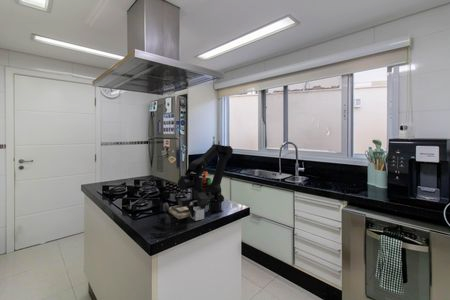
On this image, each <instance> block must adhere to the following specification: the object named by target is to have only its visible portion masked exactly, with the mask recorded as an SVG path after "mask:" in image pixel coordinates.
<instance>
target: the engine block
mask: <svg viewBox="0 0 450 300" xmlns="http://www.w3.org/2000/svg"><path fill="white" fill-rule="evenodd" d="M193 213H194V216H193V217H192V216H191V214H190V217H189V218H191V219H192V220H194V221H201V220H204V219H205V209H203V208H201V207H200V205H199V206H198V205H197V206H194V207H193Z"/></svg>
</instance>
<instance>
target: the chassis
mask: <svg viewBox="0 0 450 300" xmlns="http://www.w3.org/2000/svg"><path fill="white" fill-rule="evenodd" d="M189 199H191V198H190V197H189ZM193 205H194V206H195V202H193ZM162 208H163V212H164V213H166V212H168V213H169V214H171V215H172V216H173V217H175V218H176V219H178V220H182V219H184V218H191V217H190V212H189V209H188V208H187V206H186V207H182V206H180V205H179V204H178V205H173V206H172V205H171V206H170V205H169V203H168V202H164V203H163V204H162Z"/></svg>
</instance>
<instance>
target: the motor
mask: <svg viewBox="0 0 450 300" xmlns="http://www.w3.org/2000/svg"><path fill="white" fill-rule="evenodd" d="M203 174H204V175H205V177H202V188H203V189H204V193H206V191H205V190H206V188H207V185H208V184H209V185H210V184H211V183H212V178H210V177H207V176H208V174H209V172H208V171H204V172H203ZM208 201H209V200H208ZM195 204H198V205H199V206H200V204H199V202H198V201H197V202H195ZM206 206H209V203H208V204H207V205H206Z"/></svg>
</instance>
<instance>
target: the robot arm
mask: <svg viewBox="0 0 450 300" xmlns="http://www.w3.org/2000/svg"><path fill="white" fill-rule="evenodd" d="M233 153H234V149H233V147H232V146H231V145H222V144H217V143H215V144H214V143H213V144H212V145H211V146H210V148H209V149H207V151H205V152H204V153H203V154H202V156H200V157H199V158H197V159H194V160H192V161H191V162H190V163H189V164H188V168H187V169H186V170H185V171H186V172H185V173H184V175H180V178H179V179H178V180H177V186H178V188H179V190H181V191H185V190H190V193H191V194H190V196H189V198H187V197H183V198H179V199H178V200H177V201H178V202H177V204H178V205H180V206H182V207H186V206H187V208H188V209H189V212H190V214H191V216H192V217H193V216H194V213H193V207H195V204H194V205H193V202H194V203H196V202H197V201H198V202H199V204H200V205H199V204H198V205H199V207H201V208H203V209H204V210H205V209H206V206H208V210H207V211H208V212H209V213H211V214H214V215H215V214H219V213H222V212H224V210H223V209H222V203H223V202H224V200H225V196H224V195H223V194H222V187H221V183H222V181H223V180H222V179H223V176H224V173H225V169H226V166H227V163H228V161H229V160H230V159H231V157H232V155H233ZM216 155H217V158H218V160H217V163H216V168H215V171H214V173H213V178H212V179H211V184H210V185H209V184H208V185H207V188H206V190H205V191H206V193H204V189H203V188H202V178H203V177H205V175H204V174H203V172H205V170H206V169H207V165H208V164H209V163H210V161H212V159H214V158H215V156H216ZM190 198H191V199H190ZM208 200H209V201H208ZM208 203H209V205H207V204H208Z"/></svg>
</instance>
